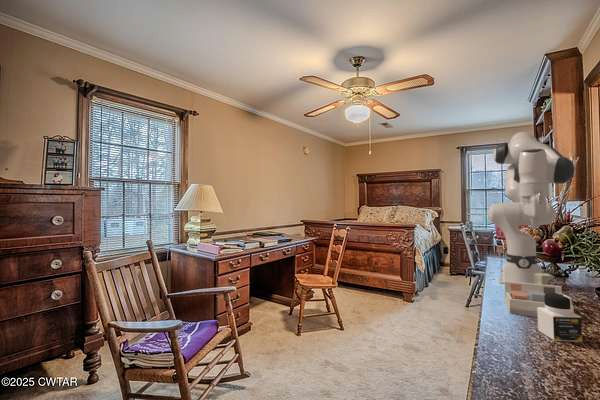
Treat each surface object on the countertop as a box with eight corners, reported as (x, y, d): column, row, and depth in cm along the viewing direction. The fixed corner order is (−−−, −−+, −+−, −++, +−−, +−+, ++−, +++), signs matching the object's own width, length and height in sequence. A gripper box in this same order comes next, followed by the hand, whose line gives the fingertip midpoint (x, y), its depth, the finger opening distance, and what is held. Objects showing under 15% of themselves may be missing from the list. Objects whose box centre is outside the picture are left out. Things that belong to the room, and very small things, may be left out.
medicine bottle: (554, 341, 83) (552, 298, 83) (537, 330, 90) (536, 290, 90) (583, 342, 82) (581, 298, 82) (563, 331, 89) (562, 291, 89)
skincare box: (555, 302, 115) (554, 276, 115) (542, 301, 116) (541, 275, 116) (547, 297, 120) (546, 273, 120) (534, 297, 121) (533, 272, 121)
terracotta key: (512, 298, 109) (512, 291, 109) (525, 299, 108) (524, 292, 108) (514, 302, 105) (514, 295, 105) (527, 303, 103) (527, 296, 103)
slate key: (529, 297, 107) (528, 290, 107) (542, 298, 105) (542, 291, 105) (531, 301, 103) (531, 294, 103) (545, 302, 101) (545, 295, 101)
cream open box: (505, 301, 116) (504, 281, 117) (561, 308, 108) (560, 286, 108) (510, 313, 104) (509, 290, 104) (574, 321, 95) (573, 296, 96)
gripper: (551, 190, 100) (553, 231, 100) (538, 192, 118) (540, 226, 118) (528, 191, 103) (530, 230, 103) (519, 192, 121) (520, 226, 121)
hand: (535, 228), depth 111 cm, fingers closed
